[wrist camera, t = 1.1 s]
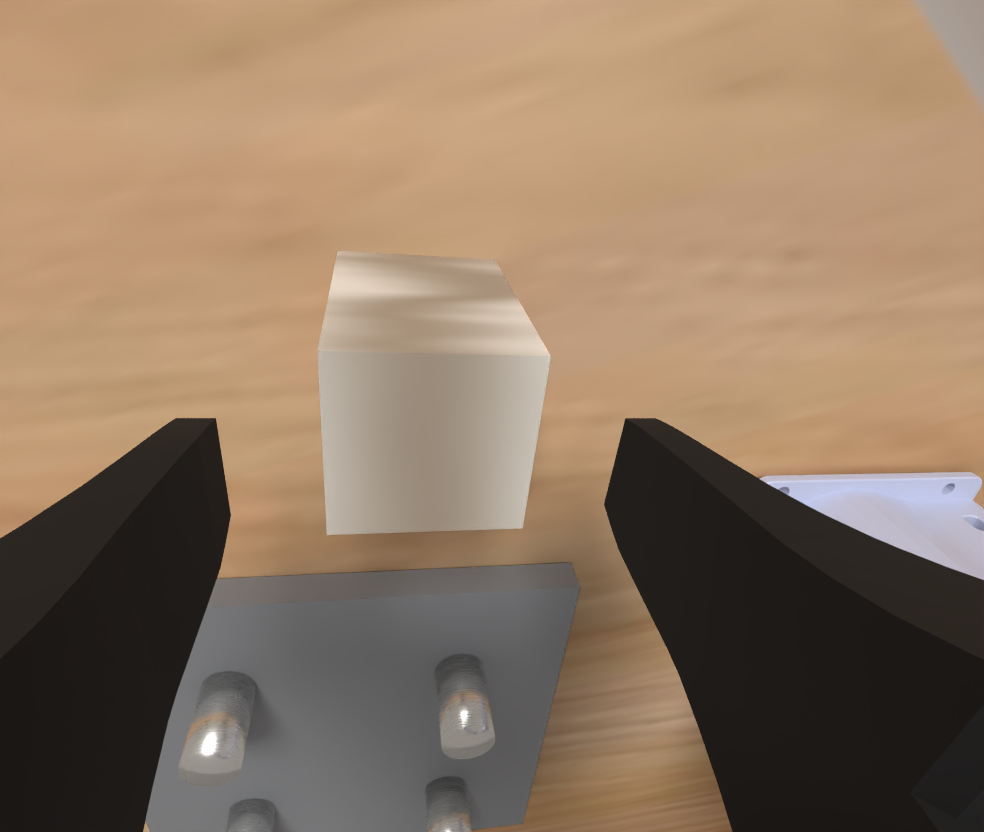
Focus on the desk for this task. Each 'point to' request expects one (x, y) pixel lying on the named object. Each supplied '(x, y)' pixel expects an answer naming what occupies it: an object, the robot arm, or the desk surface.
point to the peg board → (365, 701)
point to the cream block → (427, 395)
